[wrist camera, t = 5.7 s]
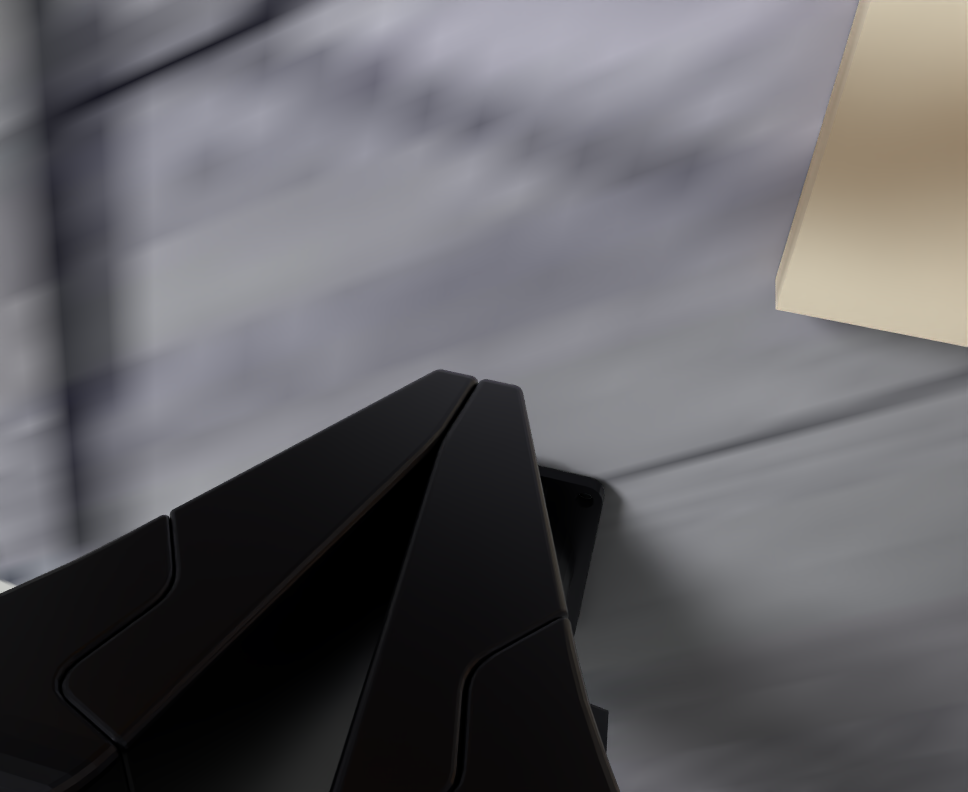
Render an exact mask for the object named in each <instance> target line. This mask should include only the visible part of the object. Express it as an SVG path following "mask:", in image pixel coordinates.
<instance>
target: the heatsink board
mask: <svg viewBox="0 0 968 792" xmlns="http://www.w3.org/2000/svg"><path fill="white" fill-rule="evenodd" d="M776 310H782V311H787V312H792V313H797V314H802V315H807V316H812V317H817V318H822V319H827V320H832V321H838V322H843V323H848V324H853V325H858V326H863V327H868V328H873V329H878V330H883V331H888V332H894V333H899V334H904V335H909V336H914V337H919V338H924V339H929V340H934V341H939V342H944V343H950V344H955V345H960V346H965V347H968V0H860V1H859V4H858V8H857V11H856V14H855V18H854V21H853V24H852V28H851V31H850V34H849V37H848V41H847V44H846V47H845V51H844V54H843V57H842V61H841V64H840V67H839V71H838V74H837V77H836V81H835V84H834V87H833V90H832V94H831V97H830V100H829V104H828V107H827V110H826V114H825V117H824V120H823V124H822V127H821V130H820V133H819V137H818V140H817V143H816V147H815V150H814V153H813V157H812V160H811V163H810V167H809V170H808V173H807V177H806V180H805V183H804V186H803V190H802V193H801V196H800V200H799V203H798V206H797V210H796V213H795V216H794V220H793V223H792V226H791V230H790V233H789V236H788V239H787V243H786V246H785V249H784V253H783V256H782V259H781V263H780V266H779V269H778V273H777V276H776Z"/></svg>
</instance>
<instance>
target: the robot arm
mask: <svg viewBox="0 0 968 792" xmlns="http://www.w3.org/2000/svg"><path fill="white" fill-rule="evenodd" d="M580 493H587V494H589V495H591V497H592V498H584V497H581V496H580V495H579V494H580ZM604 496H605V494H604V488H603V487H602V485H601V484H600V483H599V482H598V481H597V480H594V479H592V478H589V477H585V476H581V475H576V474H572V473H568V472H563V471H559V470H555V469H551V468H546V467H542V466H538V464H537V459H536V454H535V449H534V444H533V439H532V434H531V429H530V425H529V420H528V415H527V410H526V405H525V400H524V395H523V392H522V390H521V388H520V387H518V386H516V385H511V384H507V383H502V382H497V381H492V380H488V379H484V380H481V381H480V382H479V383H478V381H477V379H476V378H475V377H473V376H470V375H465V374H460V373H456V372H451V371H447V370H441V369H440V370H436V371H433V372H431V373H429V374H427V375H426V376H424V377H422V378H420V379H418V380H416V381H414V382H412V383H410V384H409V385H407V386H405V387H403V388H401V389H399V390H397V391H395V392H394V393H392V394H390V395H388V396H386V397H384V398H382V399H380V400H378V401H377V402H375V403H373V404H371V405H369V406H367V407H365V408H363V409H362V410H360V411H358V412H356V413H354V414H352V415H350V416H348V417H346V418H345V419H343V420H341V421H339V422H337V423H335V424H333V425H331V426H330V427H328V428H326V429H324V430H322V431H320V432H318V433H316V434H314V435H313V436H311V437H309V438H307V439H305V440H303V441H301V442H299V443H298V444H296V445H294V446H292V447H290V448H288V449H286V450H284V451H282V452H281V453H279V454H277V455H275V456H273V457H271V458H269V459H267V460H265V461H264V462H262V463H260V464H258V465H256V466H254V467H252V468H250V469H249V470H247V471H245V472H243V473H241V474H239V475H237V476H235V477H233V478H232V479H230V480H228V481H226V482H224V483H222V484H220V485H218V486H217V487H215V488H213V489H211V490H209V491H207V492H205V493H203V494H201V495H200V496H198V497H196V498H194V499H192V500H190V501H188V502H186V503H185V504H183V505H181V506H179V507H177V508H175V509H173V510H172V511H171V512H170V518H169V516H167V515H161V516H159V517H158V518H156V519H154V520H152V521H150V522H148V523H146V524H144V525H142V526H141V527H139V528H137V529H135V530H133V531H131V532H129V533H127V534H125V535H123V536H121V537H119V538H117V539H115V540H113V541H111V542H109V543H107V544H105V545H103V546H101V547H99V548H97V549H95V550H93V551H92V552H90V553H88V554H86V555H84V556H82V557H80V558H78V559H76V560H74V561H72V562H69V563H67V564H65V565H63V566H60V567H58V568H56V569H54V570H52V571H49V572H47V573H45V574H43V575H41V576H38V577H36V578H34V579H32V580H29V581H27V582H25V583H23V584H21V585H18V586H16V587H14V588H12V589H9V590H7V591H5V592H3V593H0V792H620V790H619V787H618V785H617V782H616V779H615V777H614V774H613V771H612V769H611V766H610V763H609V760H608V757H607V755H606V751H607V730H608V710H605V709H603V708H600V707H597V706H595V705H592V704H590V703H589V699H588V695H587V691H586V687H585V683H584V679H583V675H582V671H581V667H580V663H579V660H578V656H577V651H576V646H575V641H574V635H575V630H576V626H577V621H578V617H579V612H580V607H581V603H582V598H583V593H584V589H585V584H586V579H587V575H588V570H589V565H590V561H591V556H592V552H593V547H594V542H595V538H596V533H597V528H598V524H599V519H600V514H601V510H602V505H603V500H604Z"/></svg>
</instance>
